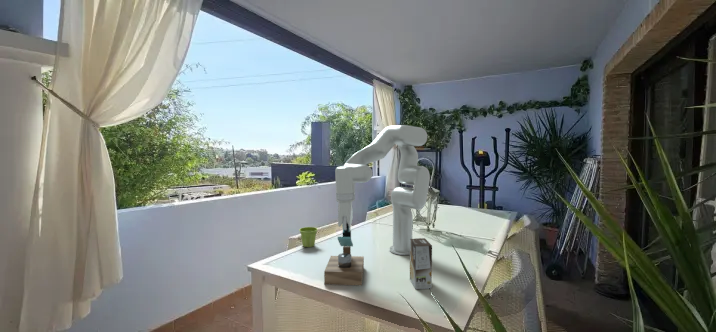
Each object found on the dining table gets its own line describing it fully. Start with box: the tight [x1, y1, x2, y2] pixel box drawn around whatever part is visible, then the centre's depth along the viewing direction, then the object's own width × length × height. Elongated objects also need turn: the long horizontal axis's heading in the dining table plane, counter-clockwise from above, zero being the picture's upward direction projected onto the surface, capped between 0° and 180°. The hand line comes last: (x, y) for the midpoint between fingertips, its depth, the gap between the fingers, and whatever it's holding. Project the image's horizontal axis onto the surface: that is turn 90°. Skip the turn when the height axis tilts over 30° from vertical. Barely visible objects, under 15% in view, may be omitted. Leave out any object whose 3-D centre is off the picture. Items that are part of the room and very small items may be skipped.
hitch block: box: [323, 246, 365, 286], centre depth 122 cm, size 16×14×10 cm
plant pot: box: [298, 226, 319, 248], centre depth 159 cm, size 9×9×9 cm
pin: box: [337, 252, 352, 268], centre depth 120 cm, size 5×5×9 cm
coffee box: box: [409, 237, 433, 290], centre depth 115 cm, size 9×6×16 cm
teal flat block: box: [337, 236, 354, 247], centre depth 123 cm, size 12×5×1 cm, turn 176°
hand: (347, 240), depth 125 cm, fingers closed
